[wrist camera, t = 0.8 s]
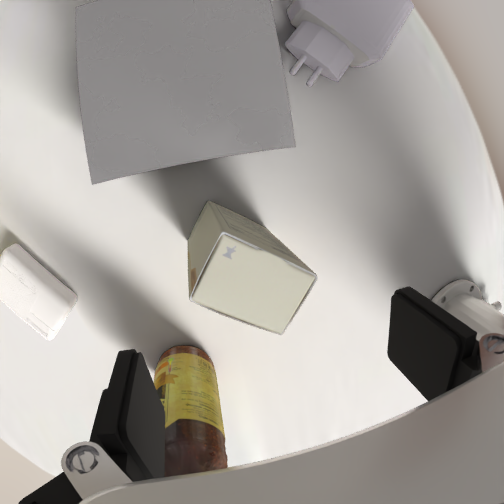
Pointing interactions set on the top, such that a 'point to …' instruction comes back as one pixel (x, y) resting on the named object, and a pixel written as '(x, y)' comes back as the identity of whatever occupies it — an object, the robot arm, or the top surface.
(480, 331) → the robot arm
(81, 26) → the pan
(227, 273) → the skincare box
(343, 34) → the charger
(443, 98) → the top surface
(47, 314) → the soap
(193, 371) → the sauce bottle
